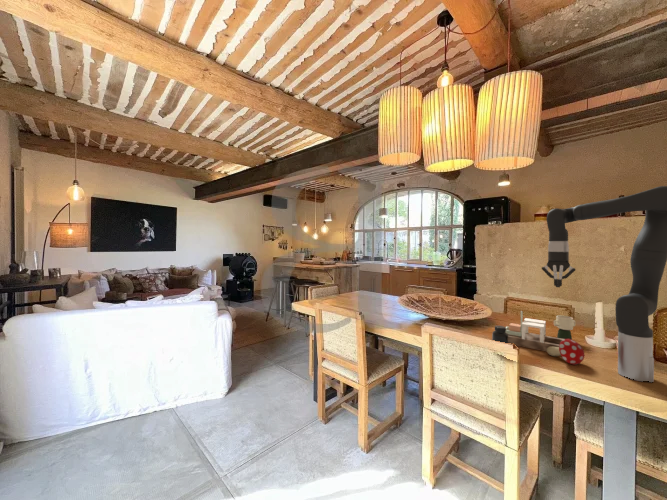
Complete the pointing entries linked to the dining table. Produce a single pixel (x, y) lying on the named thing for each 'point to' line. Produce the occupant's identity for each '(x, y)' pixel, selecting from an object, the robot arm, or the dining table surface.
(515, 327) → the block
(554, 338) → the track
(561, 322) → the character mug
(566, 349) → the decorative mushroom
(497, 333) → the supplement bottle
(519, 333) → the sled
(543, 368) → the dining table surface
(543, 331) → the tunnel
